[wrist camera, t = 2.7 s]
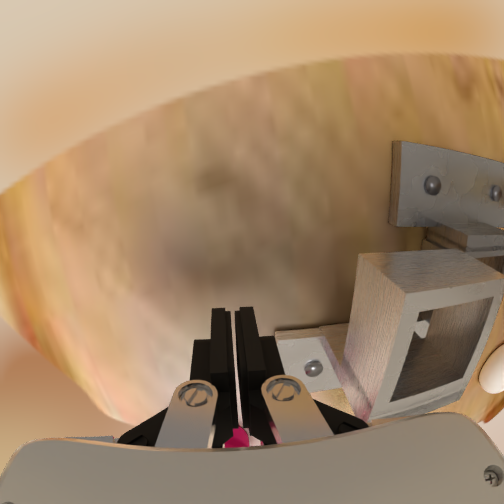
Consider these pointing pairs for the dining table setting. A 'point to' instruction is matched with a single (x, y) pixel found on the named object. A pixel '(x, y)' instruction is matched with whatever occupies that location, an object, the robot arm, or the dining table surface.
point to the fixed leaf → (449, 201)
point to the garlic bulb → (493, 372)
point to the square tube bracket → (401, 334)
